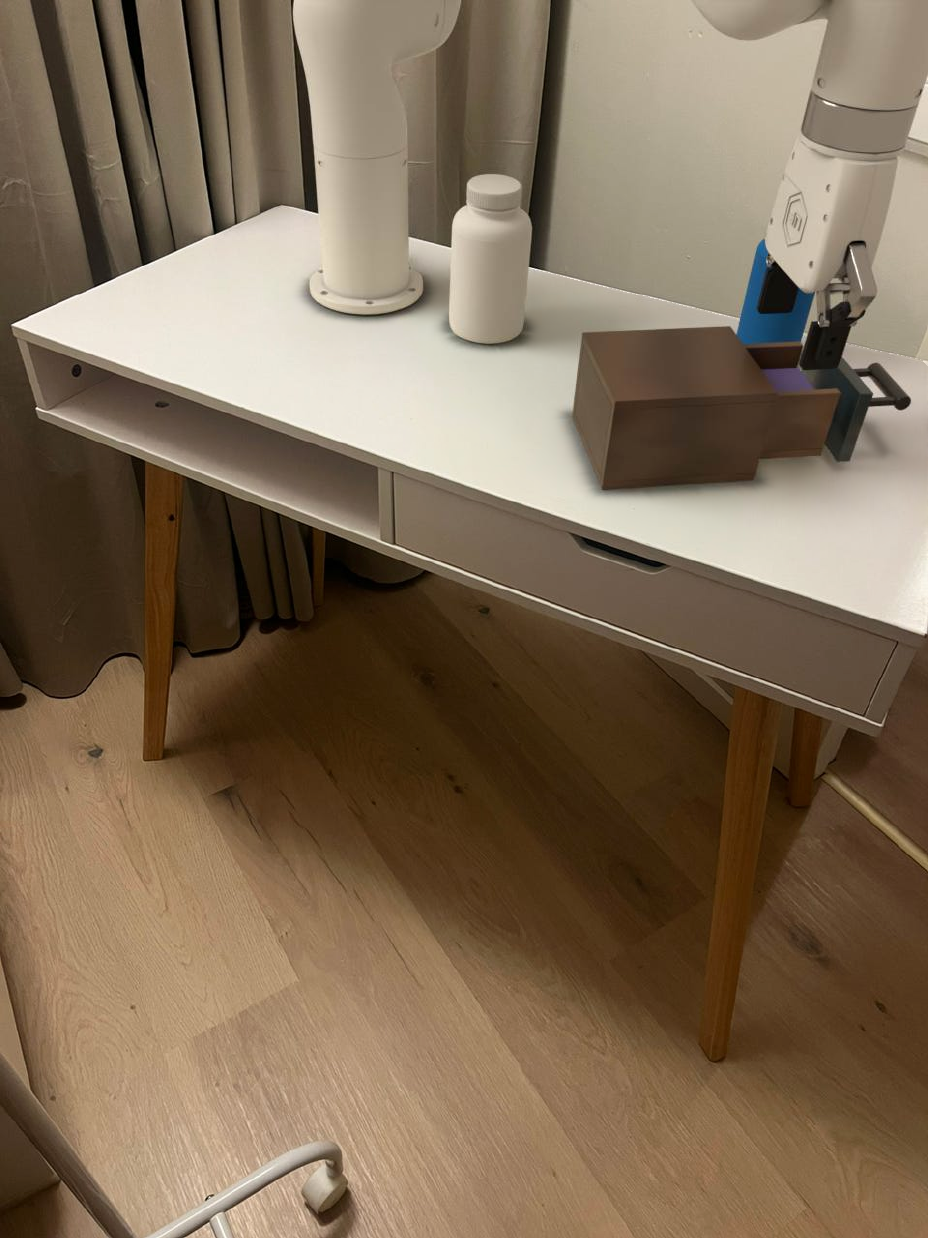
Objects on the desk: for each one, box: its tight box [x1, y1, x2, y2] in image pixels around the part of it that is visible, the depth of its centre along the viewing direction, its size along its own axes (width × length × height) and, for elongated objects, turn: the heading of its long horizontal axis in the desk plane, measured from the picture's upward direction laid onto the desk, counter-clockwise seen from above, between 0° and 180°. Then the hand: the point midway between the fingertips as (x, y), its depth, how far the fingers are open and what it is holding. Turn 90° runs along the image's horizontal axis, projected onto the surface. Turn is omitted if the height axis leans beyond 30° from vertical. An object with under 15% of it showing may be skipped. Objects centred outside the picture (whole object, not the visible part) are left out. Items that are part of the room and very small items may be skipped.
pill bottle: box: [448, 173, 533, 344], centre depth 100 cm, size 8×8×15 cm
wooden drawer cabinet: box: [571, 325, 778, 490], centre depth 87 cm, size 14×12×9 cm
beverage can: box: [735, 231, 816, 344], centre depth 99 cm, size 6×6×12 cm
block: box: [762, 367, 814, 391], centre depth 88 cm, size 4×4×4 cm
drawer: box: [743, 341, 912, 463], centre depth 88 cm, size 18×10×7 cm, turn 98°
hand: (794, 338), depth 84 cm, fingers open, 9 cm apart
